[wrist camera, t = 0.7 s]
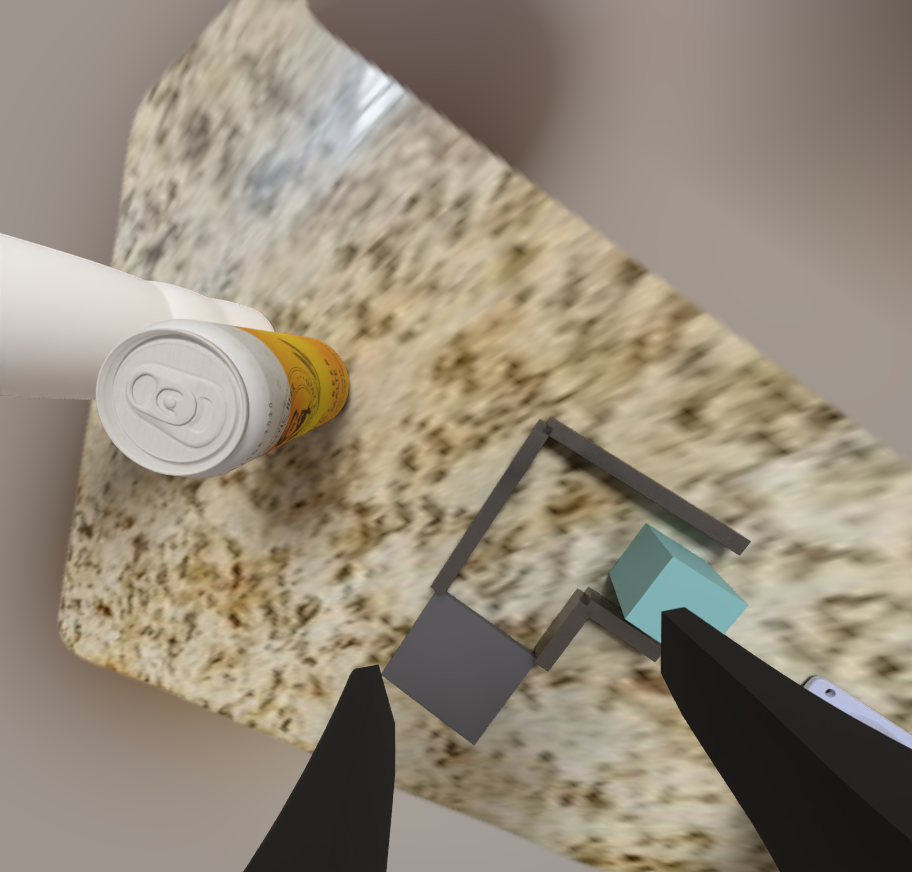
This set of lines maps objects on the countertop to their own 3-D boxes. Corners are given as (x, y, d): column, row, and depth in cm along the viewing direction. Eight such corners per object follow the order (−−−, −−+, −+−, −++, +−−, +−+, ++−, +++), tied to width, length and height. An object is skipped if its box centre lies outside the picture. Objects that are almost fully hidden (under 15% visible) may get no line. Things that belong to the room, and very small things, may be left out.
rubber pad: (537, 656, 29) (537, 659, 29) (475, 740, 31) (474, 745, 30) (439, 586, 30) (437, 588, 30) (383, 671, 32) (381, 674, 31)
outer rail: (735, 531, 26) (750, 541, 24) (606, 694, 29) (610, 715, 27) (544, 411, 28) (544, 412, 26) (438, 574, 30) (430, 586, 28)
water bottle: (301, 345, 29) (-1012, 37, 6) (254, 428, 31) (-876, 428, 8) (242, 290, 31) (-885, -90, 8) (201, 370, 33) (-802, 241, 10)
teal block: (704, 559, 27) (748, 604, 21) (664, 610, 27) (696, 667, 21) (646, 522, 27) (673, 556, 21) (608, 572, 28) (624, 618, 22)
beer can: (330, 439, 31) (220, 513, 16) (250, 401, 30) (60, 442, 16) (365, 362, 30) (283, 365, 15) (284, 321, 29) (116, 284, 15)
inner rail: (656, 631, 28) (665, 649, 26) (606, 694, 29) (611, 716, 27) (581, 581, 28) (584, 594, 26) (535, 644, 29) (534, 662, 27)
